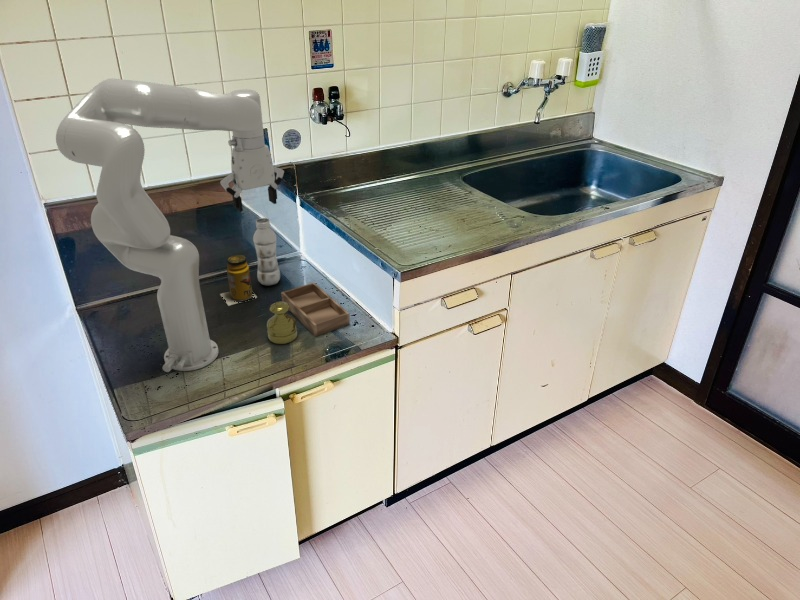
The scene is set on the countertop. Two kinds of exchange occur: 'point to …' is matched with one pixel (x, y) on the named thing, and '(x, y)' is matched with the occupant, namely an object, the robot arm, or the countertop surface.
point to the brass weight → (281, 324)
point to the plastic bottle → (266, 253)
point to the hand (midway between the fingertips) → (256, 206)
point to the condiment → (238, 280)
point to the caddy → (315, 309)
